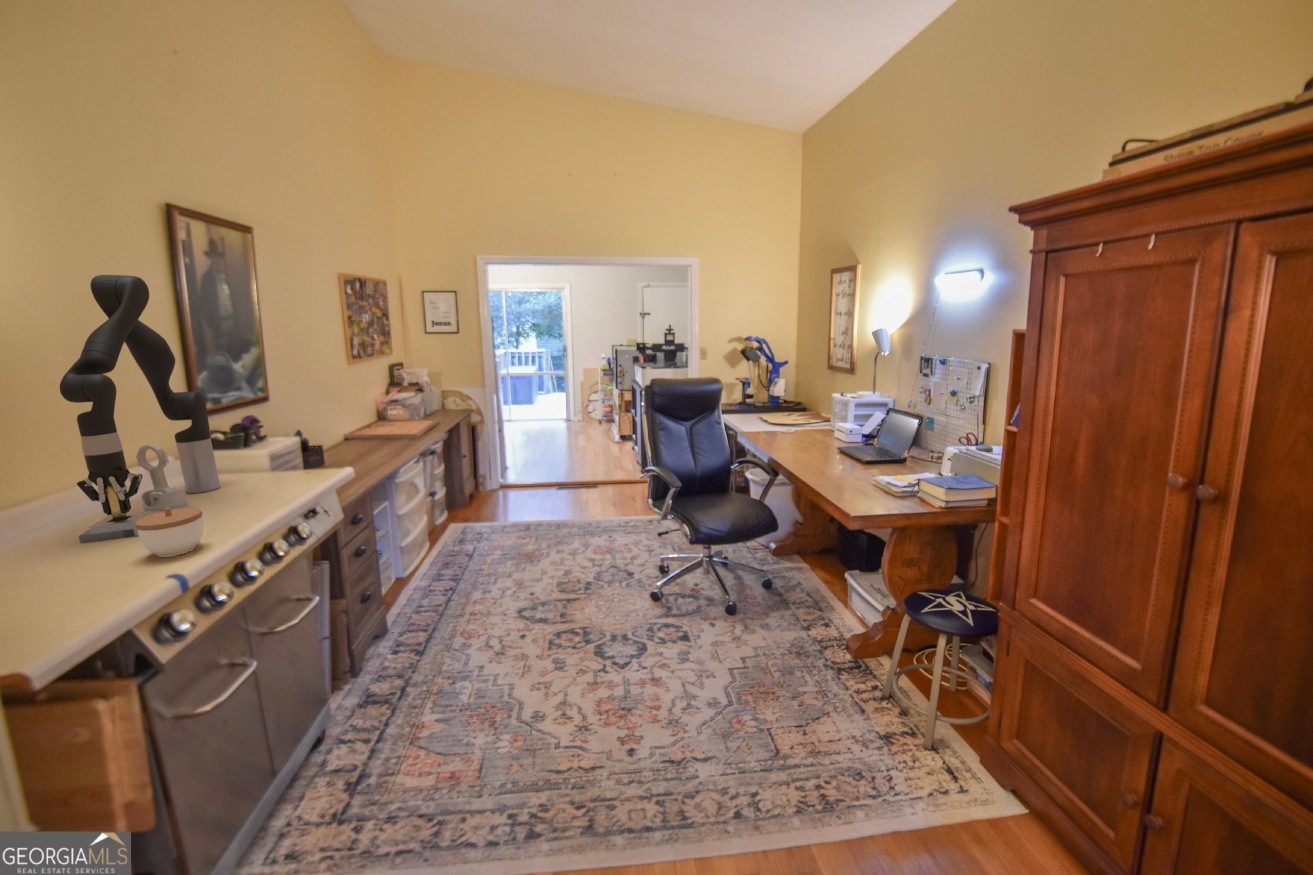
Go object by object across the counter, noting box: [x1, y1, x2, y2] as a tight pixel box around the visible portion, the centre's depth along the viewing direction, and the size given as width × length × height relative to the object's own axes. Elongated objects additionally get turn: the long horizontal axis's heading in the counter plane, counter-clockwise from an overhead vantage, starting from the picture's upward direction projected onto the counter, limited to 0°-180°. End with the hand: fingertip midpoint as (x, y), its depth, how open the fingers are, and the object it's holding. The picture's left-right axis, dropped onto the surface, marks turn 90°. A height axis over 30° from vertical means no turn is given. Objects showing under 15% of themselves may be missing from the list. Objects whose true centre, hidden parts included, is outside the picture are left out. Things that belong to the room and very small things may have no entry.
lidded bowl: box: [135, 507, 204, 558], centre depth 143 cm, size 13×13×11 cm
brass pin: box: [105, 486, 127, 522], centre depth 158 cm, size 3×3×12 cm
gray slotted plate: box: [78, 507, 185, 544], centre depth 160 cm, size 9×20×4 cm, turn 109°
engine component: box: [135, 443, 189, 512], centre depth 176 cm, size 11×20×10 cm
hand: (118, 513), depth 158 cm, fingers closed on brass pin, 2 cm apart
